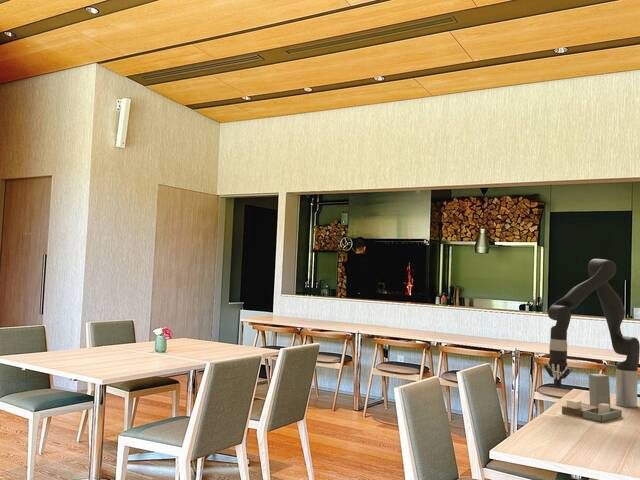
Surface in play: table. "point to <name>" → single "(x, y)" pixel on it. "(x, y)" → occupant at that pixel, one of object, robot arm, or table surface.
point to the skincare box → (599, 389)
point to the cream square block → (573, 403)
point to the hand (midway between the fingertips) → (557, 387)
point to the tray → (603, 415)
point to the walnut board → (580, 410)
